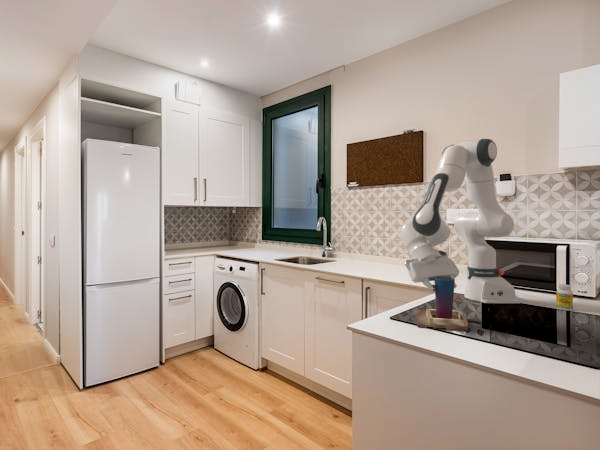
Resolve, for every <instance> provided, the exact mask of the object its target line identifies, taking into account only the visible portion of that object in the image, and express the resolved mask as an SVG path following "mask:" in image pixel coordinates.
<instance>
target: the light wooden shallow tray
mask: <svg viewBox="0 0 600 450" xmlns="http://www.w3.org/2000/svg"><path fill="white" fill-rule="evenodd" d="M413 311H414V312H413V313H414V317H415V321H416V326H417V328H426V329H428V328H427V327H433V328H432V329H437V328H448V329H447V330H451V329H457V330H456V331H466V332H467V331H469V327H468V325H469V324H468V320H467V318H466V317H465V315H464V314H463V312H462V311H461V310H454V309H452V319H443V318H437V316H436V308H435V309H433V308H426V309H414V310H413Z"/></svg>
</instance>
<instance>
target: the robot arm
mask: <svg viewBox="0 0 600 450" xmlns="http://www.w3.org/2000/svg"><path fill="white" fill-rule="evenodd" d="M497 154H498V149H497V145H496V143H495V142H494V140H492V139H490V138H481V139H472V140H466V141H464V142H459V143H455V144H450V145H448V146H446V147H445V148H444V149H443V150H442V152H441V156H440V158H439V159H440V160H439V161H438V165H437V168H436V172H435V173H434V174H435V175H434V176H433V177H432V179H431V181H430V182H429V185H428V188H427V191H426V192H425V196H424V198H423V200H422V203H421V205H420V207H419V208H418V209H417V211H416V212H415V213H414V214H413V217H412V221H410V222H409V221H408V222H407V223H406V224H404V225H403V226H402V227H401V229H400V231H399V235H400V239H401V242H402V244H403V245H404V247H405V249H406V250H407V251H408V252H409V254H410V259H407V260H406V261H405V262H404V265H405V268H406V269H407V272H408V276H409V278H410V279H411V281H412V282H413V283H415V284H417V283H421V284H423V285H424V286H426V288H428V290H429V291H430V292H435V290H436V287H435V284H432V283H431V282H435V281H434V277H451V278H454V279H455V278H457V277H458V276H459V274H460V270H459V268H458V266H457V265H456V263H455V262H454V260H453V259H452V258H450V257H449V256H450V255H449V253H448V252H447V251H445V250H440V249H437V248H435V247H436V246H439V245H440V244H443V243H444V242H446V241H447V240H448V238H449V237H450V235H451V229H450V226H449V224H447V222H446V221H445V220H444V219H443V218H442V217H441V213H440V207H441V205H442V201H443V200H444V196H445V193H446V192H449V193H451V192H455V191H457V190H459V189H460V188H461V187H462V185H463V183H464V181H465V184H466V185H465V186H466V199H467V200H468V202H469V204H472V205H474V206H475V207H476V208H477V210H478V211H473V212H472V211H471V212H470V211H469V212H464V213H459V214H458V215H457V216H455V219H454V221H453V222H454V223H453V226H454V230H455V231H456V232H457V233H458V234H459V235H460V236H461V238H462V239H463V241H464V243H465V245H466V247H467V254H468V255H467V257H468V259H467V260H468V266H467V267H466V268H467V269H466V279H467V284H466V289H465V292H464V296H463V297H464V298H465V299H468V300H471V301H476V302H480V303H484V304H521V303H523V302H522V301H523V300H522V298H520V297H519V296H518V295H516V290H515V288H514V286H513V284H511V283H510V282H509V281H507V280H506V279H505V278H503V277H502V276H503V275H504V274H505V271H504V270H502V269H499V268H498V267H497V252H496V249H495V248H494V247H493V246H492V245H489V244H488V243H487V241H486V239H485V238H503V237H509V236H510V235H511V234H512V232H513V231H514V228H515V221H514V219H513V217H512V215H510V214H508V213H507V212H506V211H505V210H504V209H503V208H502V207H501V205H500V203H499V202H498V199H497V195H496V191H495V189H496V188H495V187H496V186H495V177H494V170H493V166H492V164H493V163H494V161H495V159H496V158H497ZM433 247H434V248H433ZM455 280H456V279H455ZM457 287H458V286H457V284H456V282H455V283H454V289H457Z"/></svg>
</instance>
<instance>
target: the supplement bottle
mask: <svg viewBox="0 0 600 450" xmlns="http://www.w3.org/2000/svg"><path fill="white" fill-rule="evenodd" d="M555 294H556V299H555V300H556V303H555V305H556V308H557V309H558V310H562V311H572V310H573V309H574V291H572V285H570V284H565V283H564V284H562V283H561V284H560V283H559V284H558V289H557V290H556V292H555Z"/></svg>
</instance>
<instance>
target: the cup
mask: <svg viewBox="0 0 600 450" xmlns="http://www.w3.org/2000/svg"><path fill="white" fill-rule="evenodd" d="M455 281H456V279H454V278H451V277H434V281H433V282H434V285H435V287H436V290H435V291H434V295H435V309H436V316H437V318H443V319H452V310H454V309H453V307H454V305H453V304H454V294H455V293H454V292H455V288H454V283H455V284H456V282H455Z"/></svg>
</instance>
